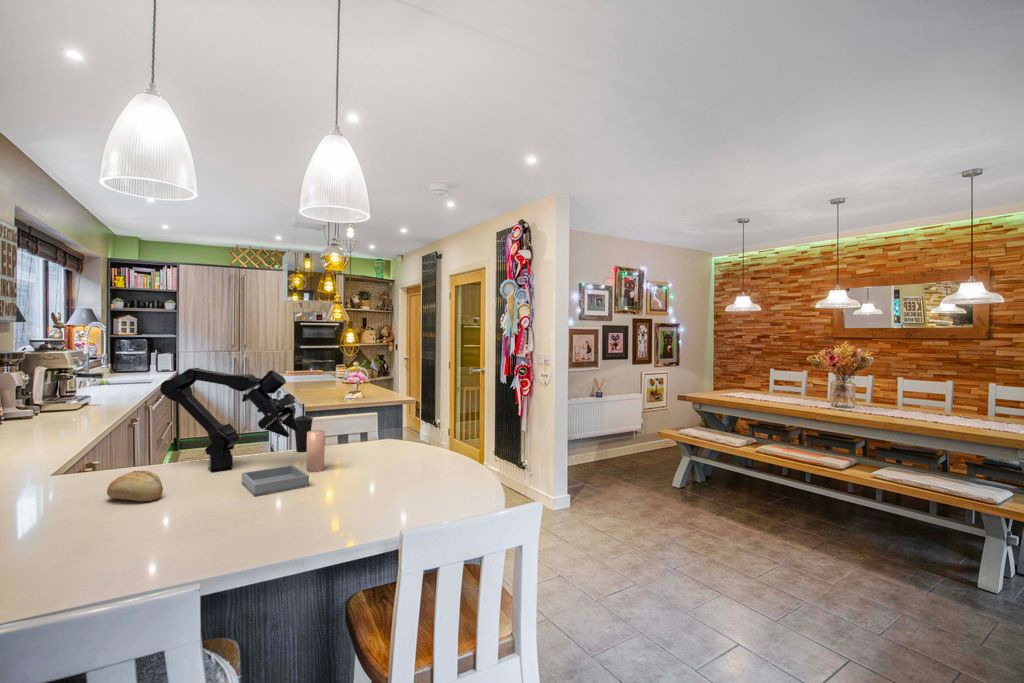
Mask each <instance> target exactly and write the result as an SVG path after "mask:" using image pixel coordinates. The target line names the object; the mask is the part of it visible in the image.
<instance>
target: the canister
mask: <svg viewBox="0 0 1024 683" xmlns="http://www.w3.org/2000/svg"><path fill="white" fill-rule="evenodd" d="M325 434H326V431H325V430H320V429H314V430H311V431H308V432H307V452H306V465H305V466H306V467H305V468H306V471H305V472H307V471H308V472H307V473H309V472H316V473H320V472H319V471H321V472H323V470H324V471H325V451H326V449H325V446H326V440H325V438H326V435H325Z"/></svg>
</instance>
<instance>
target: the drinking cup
mask: <svg viewBox="0 0 1024 683" xmlns="http://www.w3.org/2000/svg"><path fill="white" fill-rule="evenodd" d="M301 412H302V415H299V416H297V417H294V418H295V420H296V422H297V425H298V427H299V429H300V431H299V432H296V431H294V436H295V449H296V450H295V451H296V452H297V453H305V452H306V453H307V432H308V431H312V425H313V420H314V417H311V416H309V415H305V403H303V402H302V411H301Z"/></svg>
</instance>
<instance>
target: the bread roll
mask: <svg viewBox="0 0 1024 683" xmlns="http://www.w3.org/2000/svg"><path fill="white" fill-rule="evenodd" d="M163 491H164V488H163V485H162V481H161V479H160V477H159V475H157V473H155V472H152V471H149V470H134V471H131V472H128V473H125V474H122V475H121V476H119V477H117V478H115V479H114V480H113V481H111V482H110V483H109V485H108V487H107V491H106V495H107V497H109V498H110V499H118V500H126V501H127V500H128V501H136V502H143V501H150V502H153V501H152V500H154V501H156V500H158V499H159V498H161V496H162V495H163ZM155 499H156V500H155Z"/></svg>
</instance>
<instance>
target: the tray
mask: <svg viewBox="0 0 1024 683" xmlns="http://www.w3.org/2000/svg"><path fill="white" fill-rule="evenodd" d="M241 485H242V486H243V487H244V488H245V487H246V488H247V489H248V490H249V491H250V492H251V493H252V494H253V495H254V496H255V497H259V495H260V496H265V495H270V494H269V493H271V494H275V493H274V492H276V493H280V491H281V492H285V490H286V491H290V490H289V489H292V490H296V488H297V489H301V488H300V487H302V488H306V487H305V486H307V487H309V486H310V475H309V474H308V473H306V471H305V472H304V471H303V470H302V469H300V468H298V467H297V466H295V464H289V465H285V466H277V467H272V468H270V467H269V468H266V469H258V470H252V471H246V472H242V473H241ZM247 489H246V490H247ZM249 491H248V492H249ZM250 492H249V493H250ZM251 493H250V494H251ZM252 494H251V495H252ZM264 494H265V495H264ZM253 495H252V496H253ZM254 496H253V497H254Z"/></svg>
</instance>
